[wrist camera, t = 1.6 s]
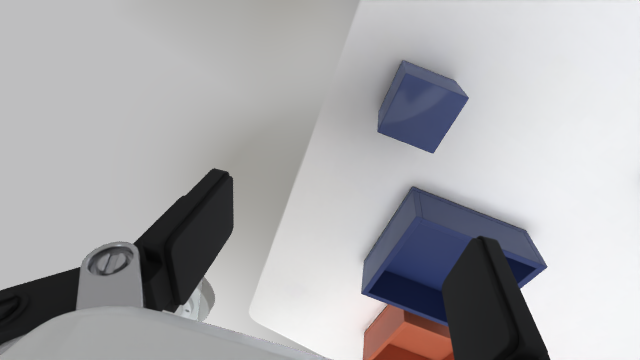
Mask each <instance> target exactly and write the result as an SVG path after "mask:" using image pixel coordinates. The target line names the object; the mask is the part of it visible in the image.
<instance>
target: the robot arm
mask: <svg viewBox="0 0 640 360" xmlns="http://www.w3.org/2000/svg"><path fill="white" fill-rule="evenodd" d="M232 230H233V178H232V177H231V176H229V173H228V172H227V171H223V170H218V169H215V168H214V169H212V170H211V171H210V172H209V173H208V174H207V175H206V176H205V177H204V178H203V179H202V180H201V181H200V182H199V183H198V184H197V185H196V186H195V187H194V188H193V189H192V190H191V191H190V192H189V193H188V194H187V195H185V196H182V197H181V198H179V199H178V200H177V201H176V202H175V203H174V204H173V205H172V206H171V207H170V208H169V209H168V210H167V211H166V212H165V213H164V214H163V215H162V216H161V217H160V218H159V219H158V220H157V221H156V222H155V223H154V224H153V225H152V226H151V227H150V228H149V229H148V230H147V231H146V232H145V233H144V234H143V235H142V236H141V237H140V238H139V239H138V240H137V241H136V242H134V244H131V243H128V242H113V243H109V244H106V245H103V246H101V247H99V248H97V249H95V250H93V251H92V252H91V253H90V254H88V255H87V256H86V258H85V259H84V260H83V262H82V265H81V267H79V268H75V269H72V270H69V271H65V272H62V273H58V274H55V275H51V276H48V277H45V278H41V279H37V280H34V281H31V282H27V283H24V284H20V285H17V286H14V287H10V288H7V289H3V290H1V291H0V360H332V359H328V358H325V357H322V356H318V355H314V354H311V353H308V352H304V351H301V350H298V349H294V348H290V347H287V346H284V345H280V344H277V343H273V342H270V341H267V340H263V339H260V338H256V337H252V336H249V335H245V334H242V333H239V332H235V331H231V330H228V329H225V328H221V327H217V326H214V325H211V324H207V323H203V322H199V321H196V320H192V319H188V317H189V316H190V315H191V313H192V311H193V309H194V304H193V301H192V299H191V297H190V296H191V295H192V293H193V292H194V290H195V289H196V287H197V286H198V284H199V283H200V281H201V280H202V278H203V276H204V275H205V273H206V272H207V270H208V269H209V267H210V266H211V264H212V263H213V261H214V260H215V258H216V256H217V255H218V253H219V252H220V250H221V249H222V247H223V246H224V244H225V243H226V241H227V240H228V238H229V237H230V235H231V233H232ZM442 295H443V300H444V306H445V311H446V316H447V322H448V327H449V333H450V338H451V344H452V349H453V355H454V360H550V358H549V355H548V351H547V349H546V346H545V344H544V342H543V340H542V338H541V335H540V333H539V331H538V329H537V326H536V324H535V322H534V320H533V317H532V315H531V313H530V311H529V308H528V306H527V304H526V302H525V300H524V297H523V295H522V293H521V291H520V288H519V286H518V284H517V282H516V279H515V277H514V275H513V273H512V271H511V268H510V266H509V264H508V262H507V259H506V257H505V255H504V253H503V250H502V248H501V246H500V244H499V242H498V240H496V239H493V238H489V237H485V236H478V237H477V238H472V239H471V240H470V242H469V243H468V245H467V246H466V248H465V249H464V251H463V252H462V254H461V256H460V257H459V259H458V260H457V262H456V263H455V265H454V266H453V268H452V269H451V271H450V272H449V274H448V275H447V277H446V279H445V280H444V282H443V284H442Z"/></svg>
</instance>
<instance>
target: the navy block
mask: <svg viewBox="0 0 640 360" xmlns="http://www.w3.org/2000/svg"><path fill="white" fill-rule="evenodd" d="M468 99H469V98H468V96H467V95H466V94H465V92H464V91H463V90H462V89H461V87H460V86H459V85H458V84H457V82H456V81H454V80H452V79H449V78H447V77H444V76H442V75H439V74H437V73H434V72H432V71H429V70H427V69H424V68H422V67H419V66H417V65H414V64H411V63H409V62H406V61H404V60H403V61H402V63H401V65H400V67H399V69H398V71H397V73H396V75H395V78H394V80H393V82H392V84H391V86H390V88H389V90H388V93H387V95H386V97H385V99H384V101H383V103H382V105H381V108H380V110H379V115H378V130H377V132H379V133H382V134H384V135H387V136H389V137H392V138H394V139H397V140H399V141H402V142H405V143H407V144H410V145H412V146H415V147H417V148H420V149H422V150H425V151H428V152H430V153H434V152H435V150H436V148H437V147H438V145H439V144H440V142H441V141H442V139H443V138H444V136H445V135H446V133H447V131H448V130H449V128H450V127H451V125H452V124H453V122H454V121H455V119H456V117H457V116H458V114H459V113H460V111H461V110H462V108H463V107H464V105H465V104H466V102H467V100H468Z"/></svg>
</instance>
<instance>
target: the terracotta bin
mask: <svg viewBox="0 0 640 360" xmlns="http://www.w3.org/2000/svg"><path fill="white" fill-rule="evenodd" d="M363 360H454V355H453V349H452V344H451V338H450V333H449V327H447V326H445V325H442V324H439V323H437V322H434V321H431V320H429V319H426V318H424V317H421V316H418V315H416V314H413V313H410V312H408V311H405V310H403V309H400V308H397V307H395V306H392V305H389V304H388V305H387V307H386V308H385V309H384V310H383V311H382V313H381V314H380V315H379V316H378V317H377V318H376V320H375V321H374V322H373V323H372V324H371V326H370V327H369V328H368V329H367V330H366V332H365V333H364V348H363Z"/></svg>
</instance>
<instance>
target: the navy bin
mask: <svg viewBox="0 0 640 360" xmlns="http://www.w3.org/2000/svg"><path fill="white" fill-rule="evenodd" d="M478 236H485V237H489V238H493V239H496V240H498V242H499V244H500V246H501V248H502V250H503V253H504V255H505V257H506V259H507V262H508V264H509V266H510V268H511V271H512V273H513V275H514V277H515V279H516V282H517V284H518V286H519V288H522V287H523V286H524V285H525V284H527V283H528V282H529V281H531V280H532V279H533V278H534V277H536V276H537V275H538V274H539V273H541V272H542V271H543V270H544V269H546V268H547V265H546V263H545V262H544V260H543V258H542V256H541V255H540V253H539V251H538V250H537V248H536V246H535V245H534V243H533V241H532V240H531V238H530V236H529V234H528V233H527V231H525V230H523V229H520V228H517V227H515V226H512V225H510V224H507V223H505V222H502V221H499V220H497V219H494V218H492V217H489V216H487V215H484V214H481V213H479V212H476V211H474V210H471V209H469V208H466V207H463V206H461V205H458V204H456V203H453V202H451V201H448V200H445V199H443V198H440V197H438V196H435V195H433V194H430V193H427V192H425V191H422V190H420V189H417V188H415V187H412V188H411V190H410V191H409V193H408V194H407V196H406V197H405V199H404V201H403V202H402V204H401V205H400V207H399V208H398V210H397V211H396V213H395V215H394V216H393V218H392V219H391V221H390V222H389V224H388V225H387V227H386V228H385V230H384V232H383V233H382V235H381V236H380V238H379V239H378V241H377V242H376V244H375V245H374V247H373V249H372V250H371V252H370V253H369V255H368V256H367V258H366V259H365V261H364V267H363V279H362V290H361V294H363V295H366V296H369V297H371V298H374V299H376V300H379V301H382V302H384V303H387V304H389V305H392V306H395V307H397V308H400V309H403V310H405V311H408V312H410V313H413V314H416V315H418V316H421V317H424V318H426V319H429V320H431V321H434V322H437V323H439V324H442V325H445V326H447V327H448V322H447V316H446V311H445V306H444V300H443V295H442V284H443V282H444V280H445V279H446V277H447V275H448V274H449V272H450V271H451V269H452V268H453V266H454V265H455V263H456V262H457V260H458V259H459V257H460V256H461V254H462V252H463V251H464V249H465V248H466V246H467V245H468V243H469V242H470V240H471V239H472V238H477V237H478Z"/></svg>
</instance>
